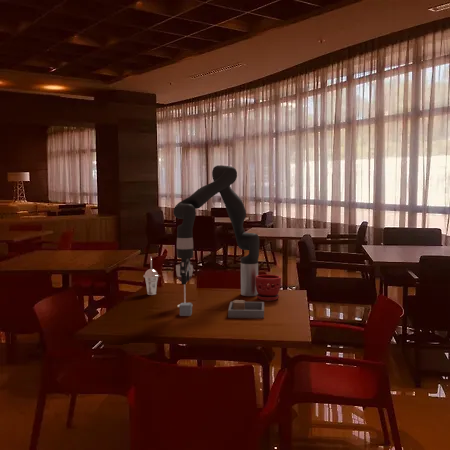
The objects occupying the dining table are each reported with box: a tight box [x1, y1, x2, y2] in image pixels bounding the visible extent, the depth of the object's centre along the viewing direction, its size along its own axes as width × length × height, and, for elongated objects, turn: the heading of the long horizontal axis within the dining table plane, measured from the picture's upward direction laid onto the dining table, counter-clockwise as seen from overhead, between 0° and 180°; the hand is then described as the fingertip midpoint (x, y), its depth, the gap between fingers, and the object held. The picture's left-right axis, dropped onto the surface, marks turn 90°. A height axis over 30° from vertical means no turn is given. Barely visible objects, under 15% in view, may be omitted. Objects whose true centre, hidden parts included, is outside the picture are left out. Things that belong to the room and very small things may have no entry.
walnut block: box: [232, 299, 246, 310], centre depth 238 cm, size 5×5×5 cm
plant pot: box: [255, 274, 282, 302], centre depth 265 cm, size 13×13×12 cm
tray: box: [227, 301, 265, 319], centre depth 238 cm, size 16×16×4 cm
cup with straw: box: [143, 256, 160, 296], centre depth 278 cm, size 8×9×20 cm
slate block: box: [179, 302, 193, 317], centre depth 237 cm, size 5×5×5 cm
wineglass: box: [175, 263, 194, 308], centre depth 253 cm, size 8×9×20 cm
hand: (185, 282), depth 236 cm, fingers open, 8 cm apart
